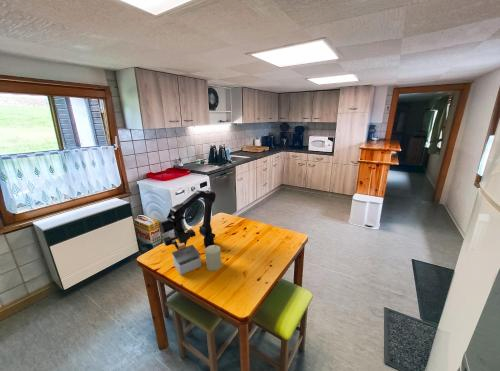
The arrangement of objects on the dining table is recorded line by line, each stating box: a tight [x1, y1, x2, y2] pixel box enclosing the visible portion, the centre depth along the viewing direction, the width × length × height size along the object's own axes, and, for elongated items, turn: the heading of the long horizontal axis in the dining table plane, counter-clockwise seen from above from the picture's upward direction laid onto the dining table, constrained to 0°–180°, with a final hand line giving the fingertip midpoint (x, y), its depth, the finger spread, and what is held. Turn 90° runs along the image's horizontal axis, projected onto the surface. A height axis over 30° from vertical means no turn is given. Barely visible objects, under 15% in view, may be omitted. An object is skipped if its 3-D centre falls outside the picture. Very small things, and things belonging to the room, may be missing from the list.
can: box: [204, 244, 223, 272], centre depth 131 cm, size 9×9×12 cm
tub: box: [172, 255, 202, 276], centre depth 133 cm, size 13×12×6 cm
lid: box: [171, 242, 201, 264], centre depth 132 cm, size 13×17×3 cm
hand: (181, 248), depth 138 cm, fingers closed on lid, 4 cm apart
